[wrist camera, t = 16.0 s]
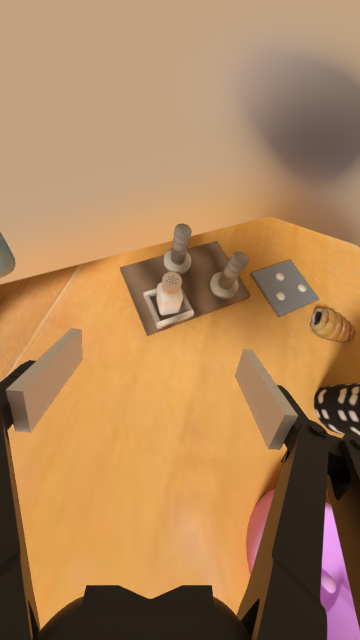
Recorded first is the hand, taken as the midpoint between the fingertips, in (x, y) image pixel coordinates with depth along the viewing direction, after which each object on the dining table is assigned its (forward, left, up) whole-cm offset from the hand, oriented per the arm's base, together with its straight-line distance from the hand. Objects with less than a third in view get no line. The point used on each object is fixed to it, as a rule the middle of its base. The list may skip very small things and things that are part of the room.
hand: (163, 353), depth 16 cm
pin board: (+1, +21, -21) cm, 30 cm away
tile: (+24, +27, -21) cm, 42 cm away
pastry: (+34, +19, -22) cm, 45 cm away
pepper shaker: (-1, +14, -20) cm, 25 cm away
